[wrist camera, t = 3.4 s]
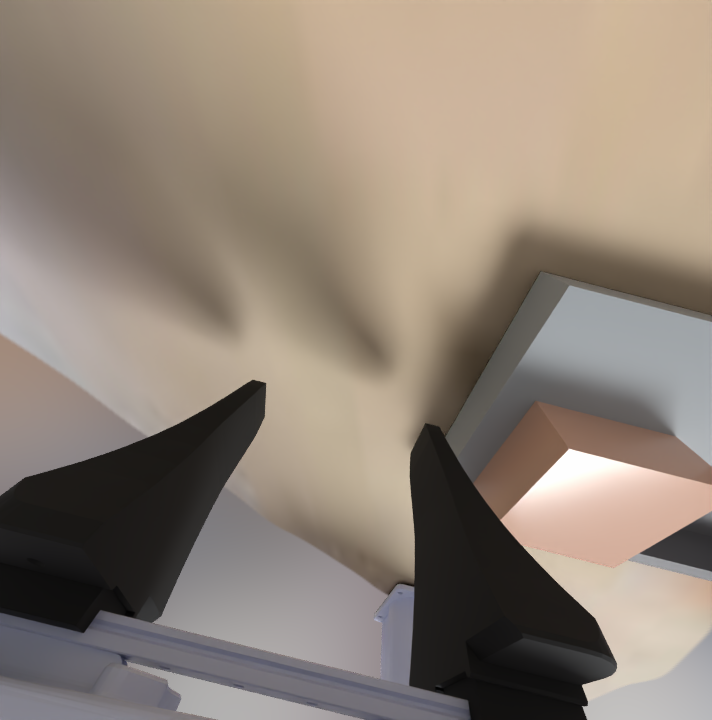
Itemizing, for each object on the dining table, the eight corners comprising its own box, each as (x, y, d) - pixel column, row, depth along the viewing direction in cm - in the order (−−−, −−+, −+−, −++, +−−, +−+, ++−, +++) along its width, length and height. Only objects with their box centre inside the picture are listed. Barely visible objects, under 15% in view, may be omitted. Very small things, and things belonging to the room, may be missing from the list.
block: (580, 512, 14) (613, 568, 12) (471, 485, 14) (485, 535, 12) (675, 436, 11) (743, 493, 9) (535, 400, 11) (569, 448, 9)
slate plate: (584, 503, 17) (606, 537, 15) (429, 464, 17) (433, 494, 15) (788, 335, 10) (865, 361, 9) (540, 271, 10) (569, 285, 9)
